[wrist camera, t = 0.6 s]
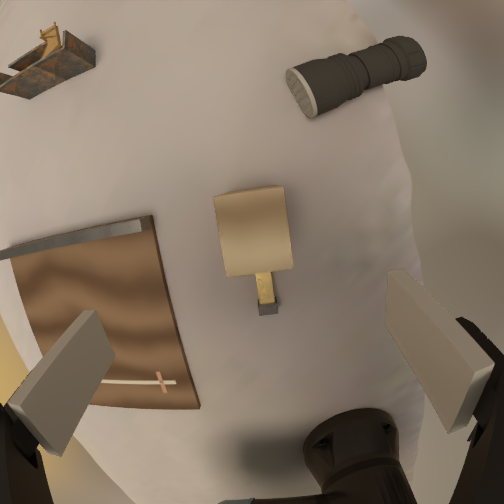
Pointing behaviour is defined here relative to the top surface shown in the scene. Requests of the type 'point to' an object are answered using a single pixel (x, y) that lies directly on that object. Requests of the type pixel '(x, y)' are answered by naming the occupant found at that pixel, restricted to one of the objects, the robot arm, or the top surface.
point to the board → (110, 308)
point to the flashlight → (354, 73)
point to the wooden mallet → (255, 237)
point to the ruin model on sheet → (48, 64)
